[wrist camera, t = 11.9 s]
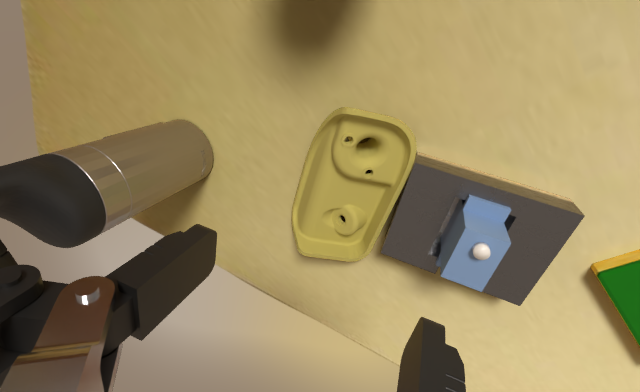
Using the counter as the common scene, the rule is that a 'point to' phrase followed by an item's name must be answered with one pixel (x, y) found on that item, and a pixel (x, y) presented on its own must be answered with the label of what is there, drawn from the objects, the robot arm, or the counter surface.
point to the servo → (474, 242)
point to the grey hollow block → (459, 181)
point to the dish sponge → (623, 287)
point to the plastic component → (350, 183)
